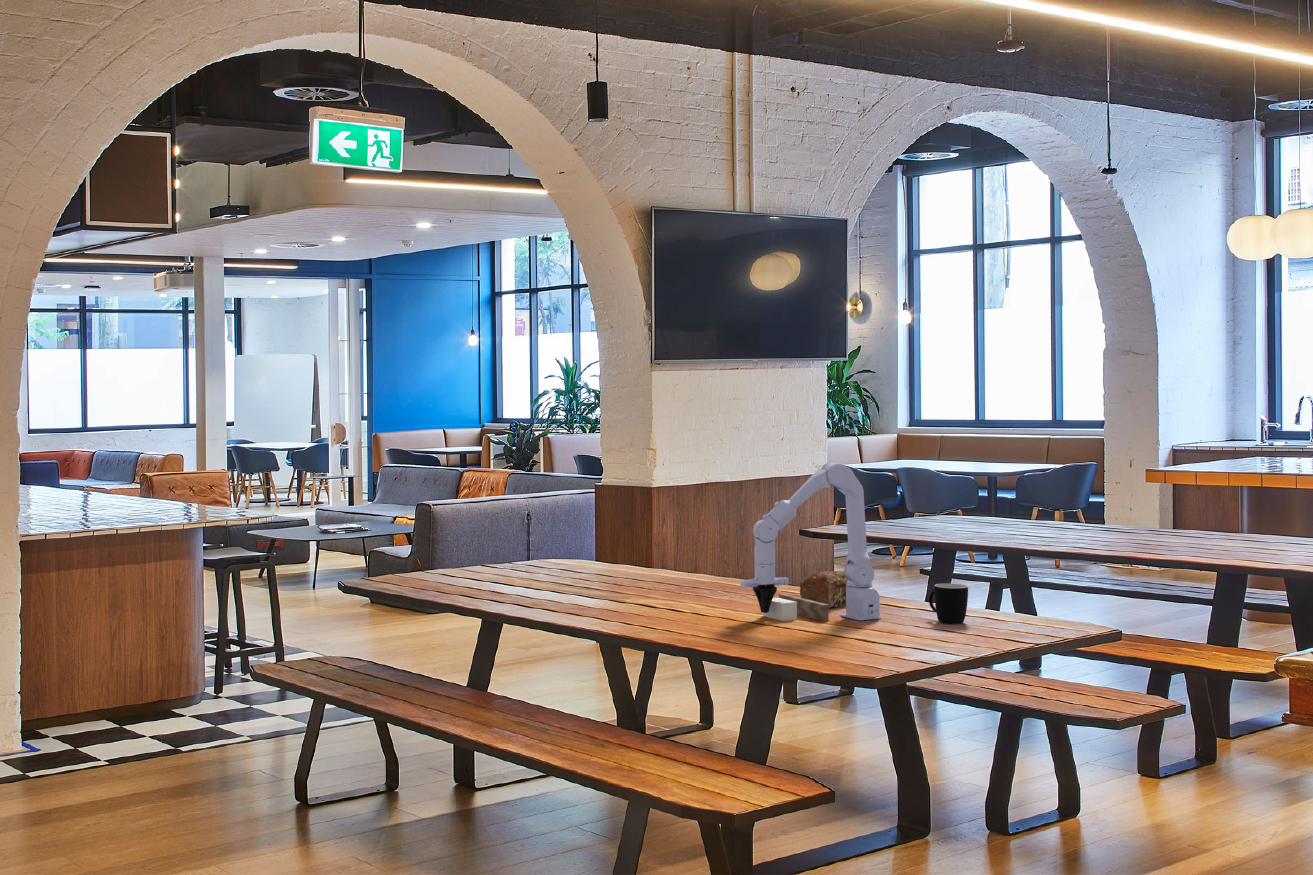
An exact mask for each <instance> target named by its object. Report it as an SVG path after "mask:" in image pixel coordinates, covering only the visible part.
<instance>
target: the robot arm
mask: <svg viewBox="0 0 1313 875" xmlns="http://www.w3.org/2000/svg"><path fill="white" fill-rule="evenodd" d="M830 487H834V488H836V489H837V490H838V491H839V492H841V493H842V494H843V495H844V496H845V511H846V514H845V515H846V530H847V531H846V532H847V544H848V545H847V549H848V551H847V555H846V564H845V566H844V569H843V570H844V571H843V572H844V573H845V576H846V578H847V579H848V581H847V583H846V605H845V613H839V616H840V617H842V618H848V619H851V620H854V621H855V620H856V621H868V620H870V621H871V620H879V619H883V616H880V594H879V591H878V590H876V589H874V588H873V583H872V582H873V581H874V579H875V571H874V568H873V567H872V564H871V557H870V555H869V553H868V548H867V547H868V546H867V532H866V531H867V528H866V514H865V513H866V511H865V496H864V494H865V493H864V487H863V485H862V483H861V482H860V480H859V479H858V478H857V477H856V475H855V474H854V472H853V470H852V469H850V468H849V467H848V466H846V465H845V464H844V463H843V464H842V463H836V462H831V461H829V462H825V464H823V466H822V467H821V468H819V469H817V470H815V472H814V473H812V475H811V476H810V477H809V478H808V479H807V480H806V481H805V482H804V483H803V484H802V486H801V487H799V488H798V490H796V491H795V493H794V494H792V496H791V497H790V498H789V499H786V500H785V499H782V500H780V501H776V502H775V503H774V505H773V506H774V507H773V508H772V509H770V511H769V512H768V513H767V514H763V515H762V519H760V520H758V521H757V522H755V524H754V525H753V528H752V529H751V532H752V535H753V536H754V539H755V540H754V578H750V579H742V580H740V588H742V589H748V588H752V591H753V593H754V594H755V596H756V598H757V602H758V606H759V609H760V612H761V613H763V614H764V613H769V609H770V605H771V601H772V599H773V598H775V594H776V593H777V591H778V586H782V585H783V586H789V584H790V583H789V582H790V581H789V580H790V579H789V577H785V576H784V577H783V576H781V577H776V546H775V545H776V544H775V543H776V538H777V536H779V535H778V532H779V531H781V530H782V529H783V528H784V527H785V526H787V524H789V523H790V521H792V520H793V518H795V517H796V516H797V509H798V507H800V506H801V505H802V504H804V503H805V501H807V500H808V499H809V498H810V497H811V496H813V494H815V493H816V492H817V491H818V490H822V489H827V488H830Z"/></svg>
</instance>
